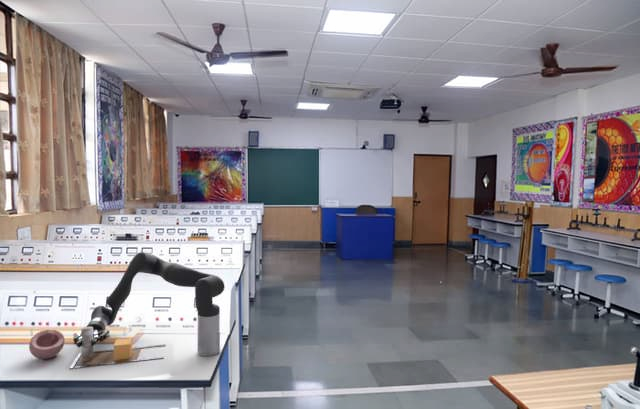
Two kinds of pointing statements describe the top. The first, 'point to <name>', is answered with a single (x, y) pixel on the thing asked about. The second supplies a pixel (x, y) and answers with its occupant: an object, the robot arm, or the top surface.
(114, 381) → the top surface
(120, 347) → the cube
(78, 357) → the track
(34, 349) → the pink round bowl
